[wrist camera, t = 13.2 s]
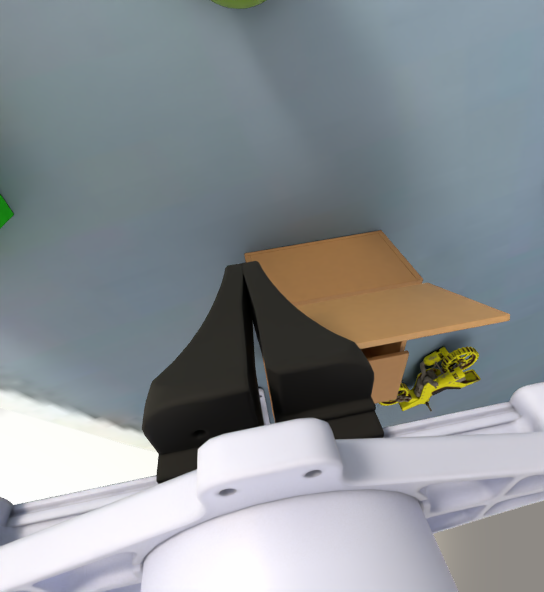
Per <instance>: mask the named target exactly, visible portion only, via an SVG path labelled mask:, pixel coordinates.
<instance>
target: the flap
mask: <svg viewBox="0 0 544 592" xmlns="http://www.w3.org/2000/svg"><path fill="white" fill-rule="evenodd" d="M296 308H297V309H299V310H300V311H301V312H302V313H304V314H305V315H306V316H308V317H309V318H310V319H312V320H313V321H315V322H317V323H318V324H320V325H321V326H323V327H324V328H326V329H328V330H330V331H331V332H333V333H335V334H338V335H340V336H342V337H344V338H347V339H349V340H351V341H353V342H355V343H356V344H357V345H358V347H359V348H360V349H363V348H369V347H374V346H379V345H384V344H389V343H395V342H400V341H405V340H410V339H416V338H421V337H426V336H431V335H437V334H442V333H447V332H452V331H457V330H463V329H468V328H473V327H478V326H484V325H489V324H494V323H499V322H504V321H509V320H510V314H507V313H505V312H502V311H500V310H497V309H494V308H492V307H489V306H487V305H484V304H482V303H479V302H476V301H474V300H471V299H469V298H466V297H464V296H461V295H458V294H456V293H453V292H451V291H448V290H445V289H443V288H440V287H438V286H435V285H433V284H430V283H423V284H418V285H412V286H406V287H401V288H395V289H390V290H384V291H379V292H373V293H368V294H362V295H357V296H351V297H346V298H340V299H335V300H329V301H324V302H318V303H313V304H307V305H302V306H296Z"/></svg>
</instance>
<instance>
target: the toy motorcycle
mask: <svg viewBox="0 0 544 592" xmlns="http://www.w3.org/2000/svg"><path fill="white" fill-rule="evenodd" d="M441 353H442V354H441ZM464 354H466V355H465V356H463V357H460V356H461V355H464ZM469 355H471V356H470V357H469V359H466V360H465V357H467V356H469ZM443 357H444V358H443ZM478 357H479V355H478V352H477V351H476V350H475V349H474V348H472V347H468V346H467V347H465V348H464V347H462V348H460V349H459V348H458V349H457V350H454V351H453V352H451V353H448V351H447V350H446V348H445V347H443V348H441V349H439V350H438V351H435V352H433V353H431V354H429V355H428V356H426V357H425V358H424V360H423V362H421V364H420V369H421V373H419V374H418V376H417V379H416V383H415V386H414V388H413V389H411V390H409V389H408V387H407V385H405V384H404V383H403V384H402V383H401V384H400V388H399V391H398V396H397V398H396V399H394V400H389V401H384V402H379V404H381V405H384V406H385V405H387V406H388V405H392V404H396V403H399V405H400V407H401V409H402V411H404V410H407V409H409V408H412V407H414V406H417V405H419V404H426V405H427V406H428V408H429V410H430V411H432V410H431V408H430V407H429V403H428V401H430V399H429V398H430V397H431V396H432V395H435V394H437V393H439V392H441V391H443V390H446V389H461V388H462V387H465V386H467V385H470V384H472V383H475V382H478V381H479V380H481V379H480V377H479V376H478V375H477V373H476V372H475V371H474V370H473V369H472V370H468V371H465V372H463V371H462V370H464V369H465V370H466V368H468V367H470V366H471V365H473V364H474V362H476V360H477V359H478ZM455 358H456V359H455ZM441 360H444V361H442V364H441V365H442V368H440V367H439V365H438V364H437V362H439V361H441ZM464 361H465V362H464ZM456 363H457V364H456ZM434 364H436V365H437V367H438V368H439V369H435V368H434V367H435V366H436V365H434ZM455 364H456V365H455ZM425 365H429V366H431V365H434V366H433V367H432V368H429V369H427V370H426V369H425ZM453 365H454V366H453ZM400 392H401V393H400Z"/></svg>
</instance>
